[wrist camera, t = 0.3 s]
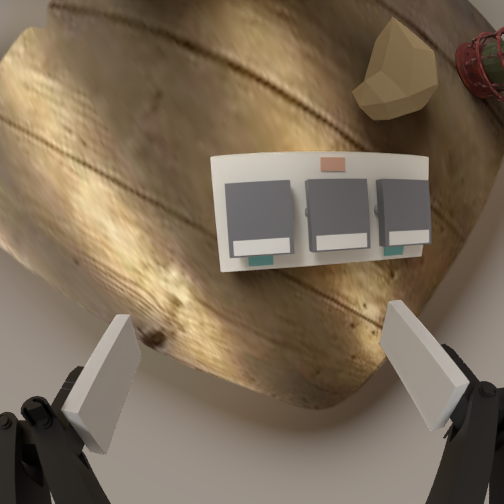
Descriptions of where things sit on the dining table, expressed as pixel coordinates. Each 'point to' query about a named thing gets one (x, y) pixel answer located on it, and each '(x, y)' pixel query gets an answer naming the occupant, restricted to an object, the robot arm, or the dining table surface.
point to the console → (298, 171)
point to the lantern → (482, 65)
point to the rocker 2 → (403, 212)
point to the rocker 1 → (259, 218)
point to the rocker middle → (337, 214)
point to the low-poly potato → (397, 75)
